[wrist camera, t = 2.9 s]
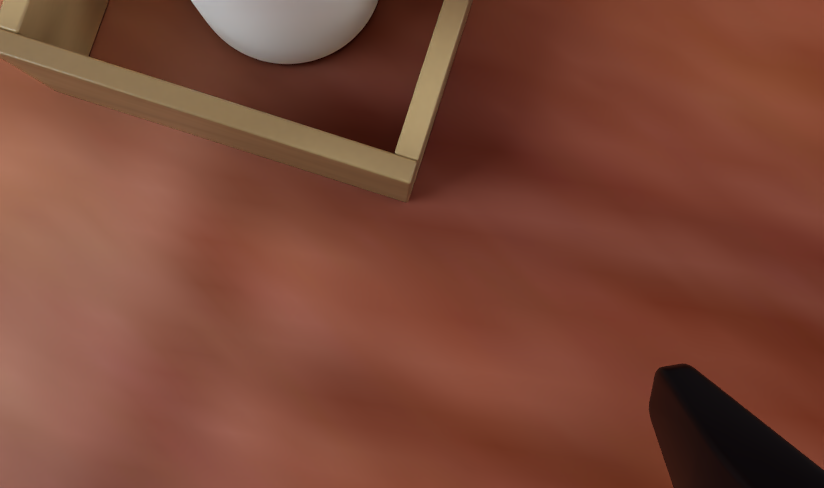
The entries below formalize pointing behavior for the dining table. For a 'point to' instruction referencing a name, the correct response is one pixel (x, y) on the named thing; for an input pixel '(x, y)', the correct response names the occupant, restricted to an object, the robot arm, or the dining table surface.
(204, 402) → the dining table surface
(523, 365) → the dining table surface
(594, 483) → the dining table surface
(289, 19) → the can
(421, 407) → the dining table surface
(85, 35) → the wooden frame
